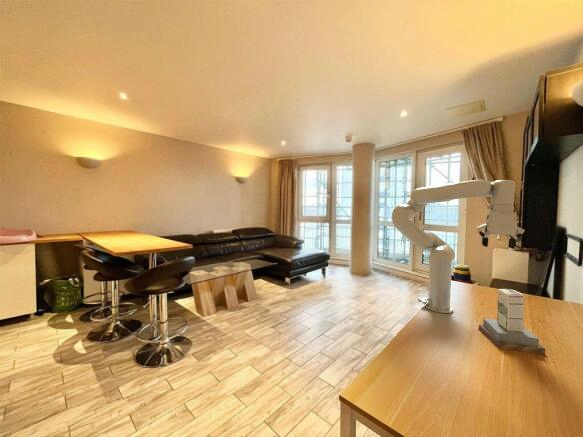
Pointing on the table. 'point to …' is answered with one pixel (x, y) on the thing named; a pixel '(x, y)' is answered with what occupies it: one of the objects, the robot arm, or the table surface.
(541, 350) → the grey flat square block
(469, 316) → the table surface
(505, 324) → the syrup box
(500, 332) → the slate-grey slab
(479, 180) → the robot arm
